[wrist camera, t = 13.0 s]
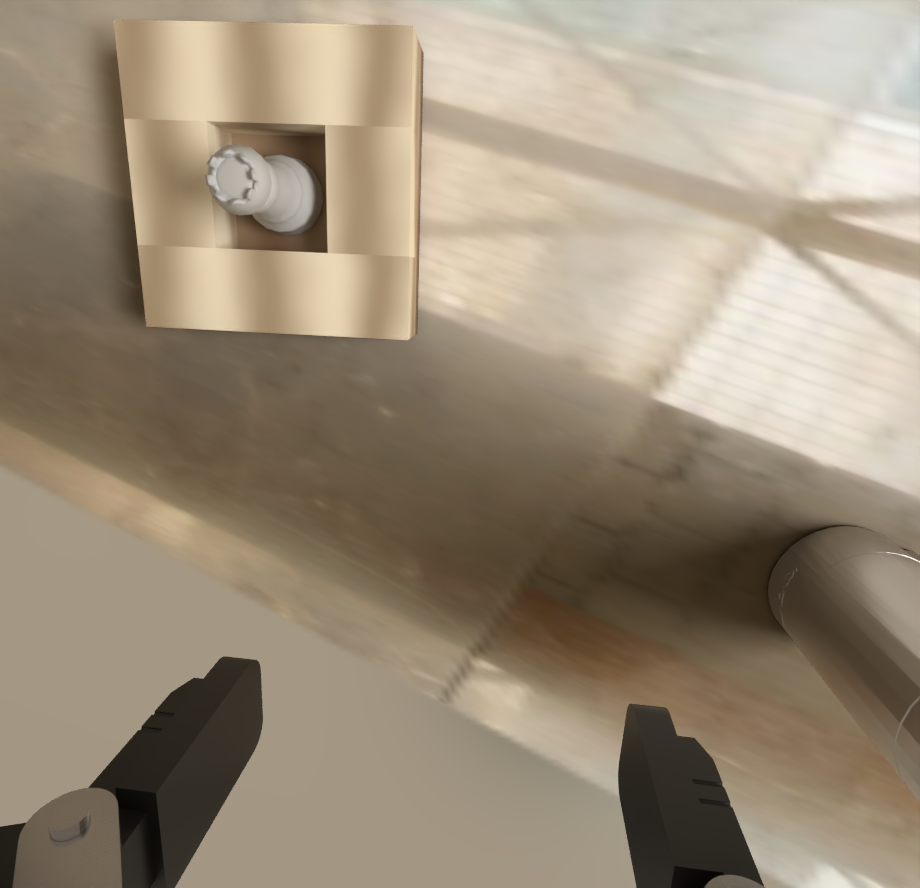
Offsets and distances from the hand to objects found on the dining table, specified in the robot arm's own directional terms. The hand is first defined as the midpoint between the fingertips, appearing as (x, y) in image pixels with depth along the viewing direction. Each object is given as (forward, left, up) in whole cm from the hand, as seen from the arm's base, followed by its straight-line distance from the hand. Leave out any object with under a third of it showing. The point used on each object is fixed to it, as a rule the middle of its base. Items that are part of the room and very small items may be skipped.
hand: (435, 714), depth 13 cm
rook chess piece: (+12, -13, -27) cm, 33 cm away
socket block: (+13, -13, -28) cm, 34 cm away
